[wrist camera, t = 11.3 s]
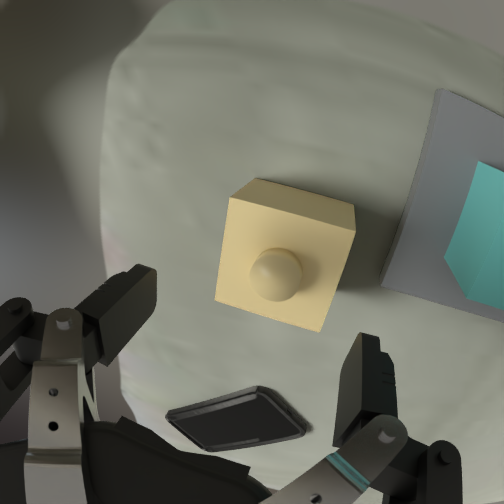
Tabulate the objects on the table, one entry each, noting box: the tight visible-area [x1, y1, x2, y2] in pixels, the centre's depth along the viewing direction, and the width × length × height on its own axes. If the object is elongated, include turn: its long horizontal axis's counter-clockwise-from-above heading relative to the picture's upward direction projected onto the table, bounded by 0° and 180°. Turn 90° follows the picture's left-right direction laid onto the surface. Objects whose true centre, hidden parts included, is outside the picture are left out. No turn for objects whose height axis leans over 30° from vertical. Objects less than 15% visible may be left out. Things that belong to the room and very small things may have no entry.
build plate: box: [379, 89, 504, 322], centre depth 14 cm, size 12×12×2 cm
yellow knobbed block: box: [215, 178, 356, 333], centre depth 17 cm, size 6×6×6 cm
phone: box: [165, 386, 306, 452], centre depth 30 cm, size 8×1×15 cm
